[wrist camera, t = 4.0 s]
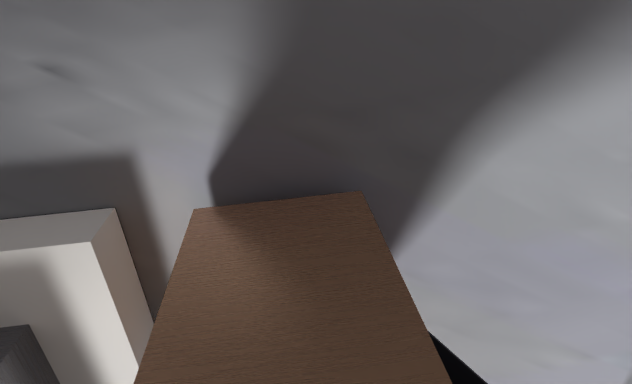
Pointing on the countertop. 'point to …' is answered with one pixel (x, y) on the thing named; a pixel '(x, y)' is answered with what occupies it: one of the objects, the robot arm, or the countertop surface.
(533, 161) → the countertop surface
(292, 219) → the wooden square prism
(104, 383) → the collar plate
